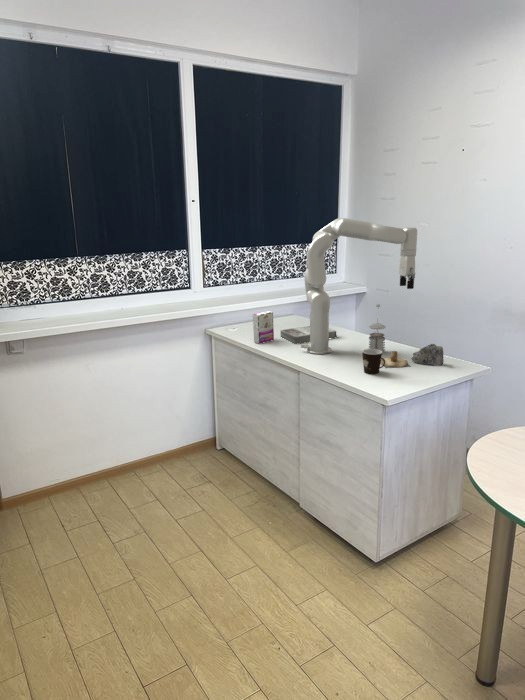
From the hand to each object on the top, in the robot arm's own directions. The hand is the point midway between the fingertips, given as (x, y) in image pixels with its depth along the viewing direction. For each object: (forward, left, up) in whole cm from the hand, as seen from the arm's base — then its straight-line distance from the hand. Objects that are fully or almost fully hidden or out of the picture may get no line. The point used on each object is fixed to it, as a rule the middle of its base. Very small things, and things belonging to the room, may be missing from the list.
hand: (406, 287), depth 255 cm
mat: (-16, -29, -31) cm, 46 cm away
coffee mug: (-30, -40, -31) cm, 59 cm away
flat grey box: (-45, +29, -32) cm, 62 cm away
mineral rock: (0, -31, -32) cm, 44 cm away
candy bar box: (-71, +25, -32) cm, 82 cm away
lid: (-16, -29, -31) cm, 45 cm away
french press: (-18, -10, -31) cm, 38 cm away
